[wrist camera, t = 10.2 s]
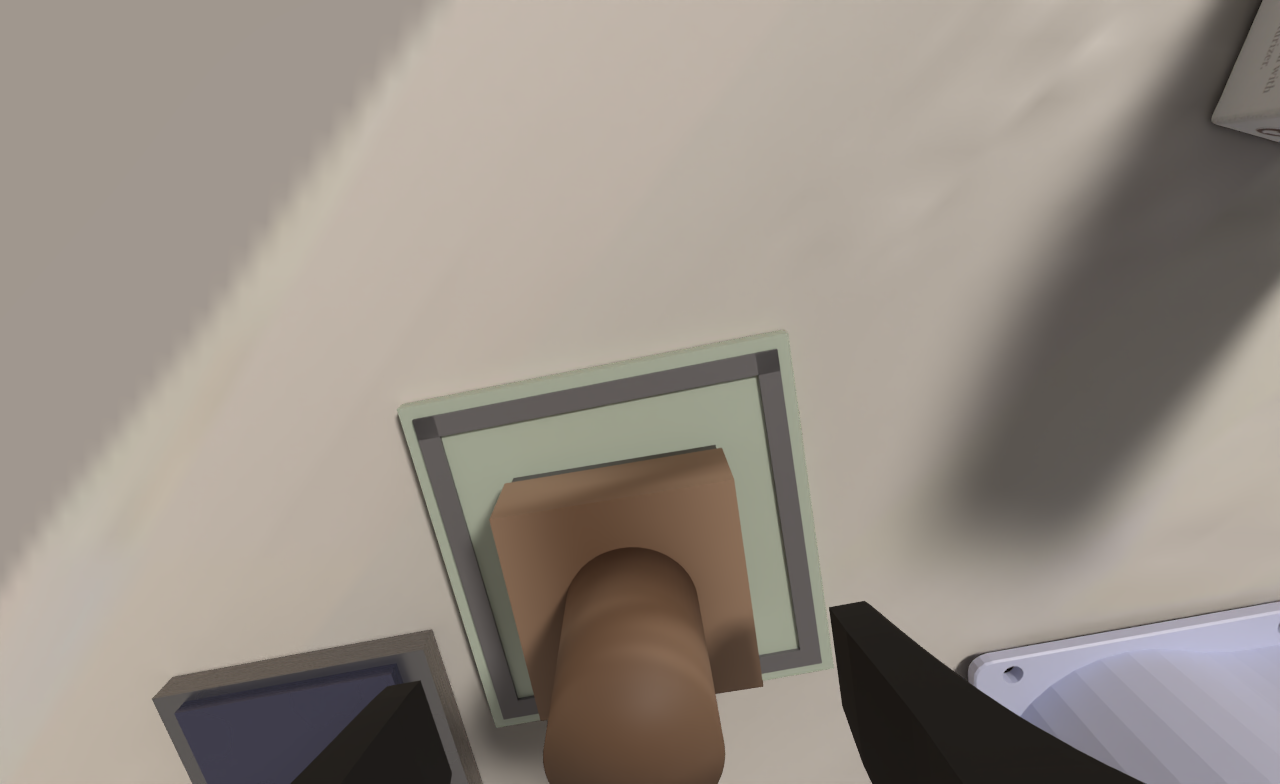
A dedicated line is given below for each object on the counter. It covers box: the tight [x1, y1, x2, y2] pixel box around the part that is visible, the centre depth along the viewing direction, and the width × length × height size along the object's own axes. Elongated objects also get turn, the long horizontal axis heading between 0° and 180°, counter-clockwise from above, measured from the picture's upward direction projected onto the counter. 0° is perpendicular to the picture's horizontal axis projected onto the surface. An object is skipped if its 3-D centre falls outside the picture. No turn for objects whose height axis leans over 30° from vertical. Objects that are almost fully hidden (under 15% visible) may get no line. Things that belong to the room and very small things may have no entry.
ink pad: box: [152, 630, 483, 784], centre depth 18 cm, size 7×7×1 cm
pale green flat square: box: [397, 330, 834, 728], centre depth 16 cm, size 9×9×1 cm
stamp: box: [489, 445, 763, 784], centre depth 13 cm, size 5×5×6 cm
